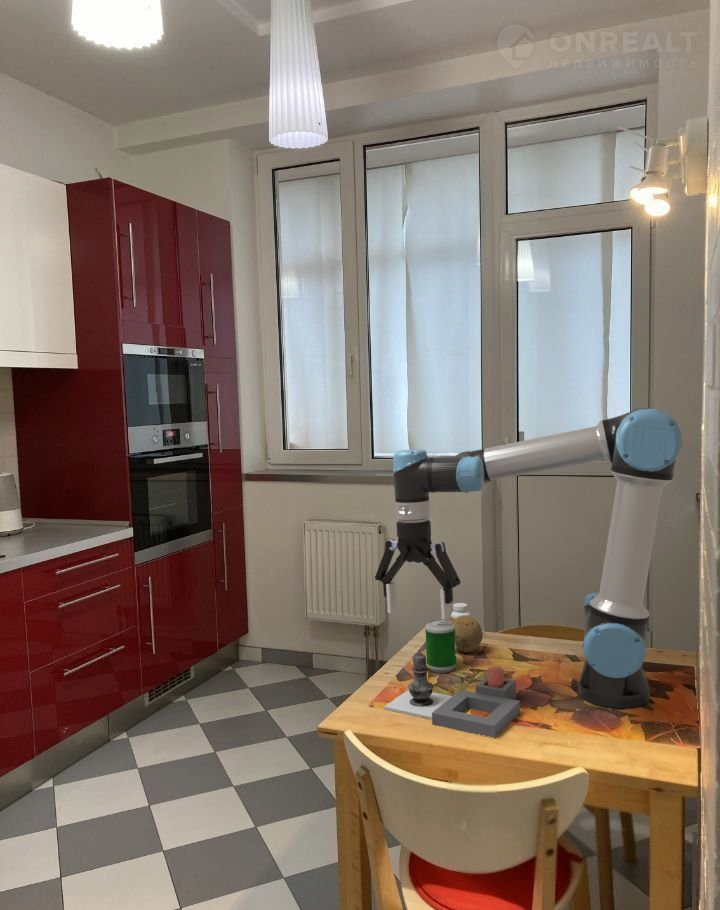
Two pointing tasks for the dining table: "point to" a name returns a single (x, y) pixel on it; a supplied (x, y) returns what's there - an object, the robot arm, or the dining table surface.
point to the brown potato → (467, 633)
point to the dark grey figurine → (420, 682)
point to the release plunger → (495, 677)
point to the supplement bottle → (459, 611)
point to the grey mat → (405, 707)
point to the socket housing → (484, 700)
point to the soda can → (441, 645)
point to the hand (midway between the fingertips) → (418, 614)
